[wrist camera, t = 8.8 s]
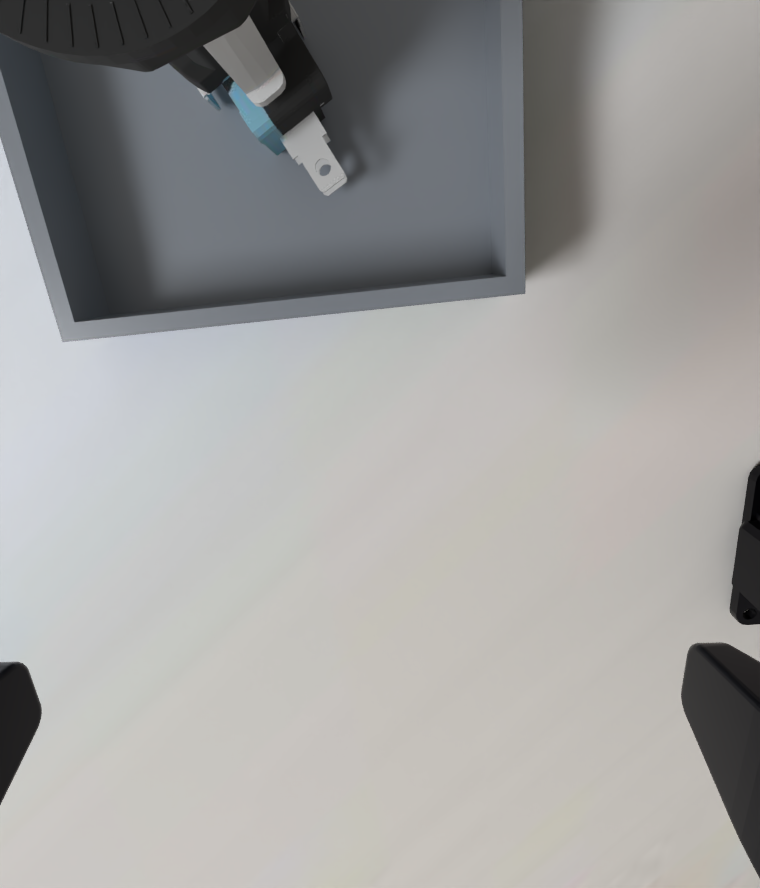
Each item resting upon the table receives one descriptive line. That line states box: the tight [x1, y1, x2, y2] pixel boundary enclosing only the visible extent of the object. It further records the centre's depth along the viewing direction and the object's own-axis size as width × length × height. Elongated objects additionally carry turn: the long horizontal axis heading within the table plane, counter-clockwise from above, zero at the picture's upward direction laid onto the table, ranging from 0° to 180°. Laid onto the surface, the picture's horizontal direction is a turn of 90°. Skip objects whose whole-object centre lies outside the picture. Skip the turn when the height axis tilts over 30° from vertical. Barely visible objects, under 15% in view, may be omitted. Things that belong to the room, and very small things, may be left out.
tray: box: [0, 0, 525, 342], centre depth 14 cm, size 13×12×2 cm
